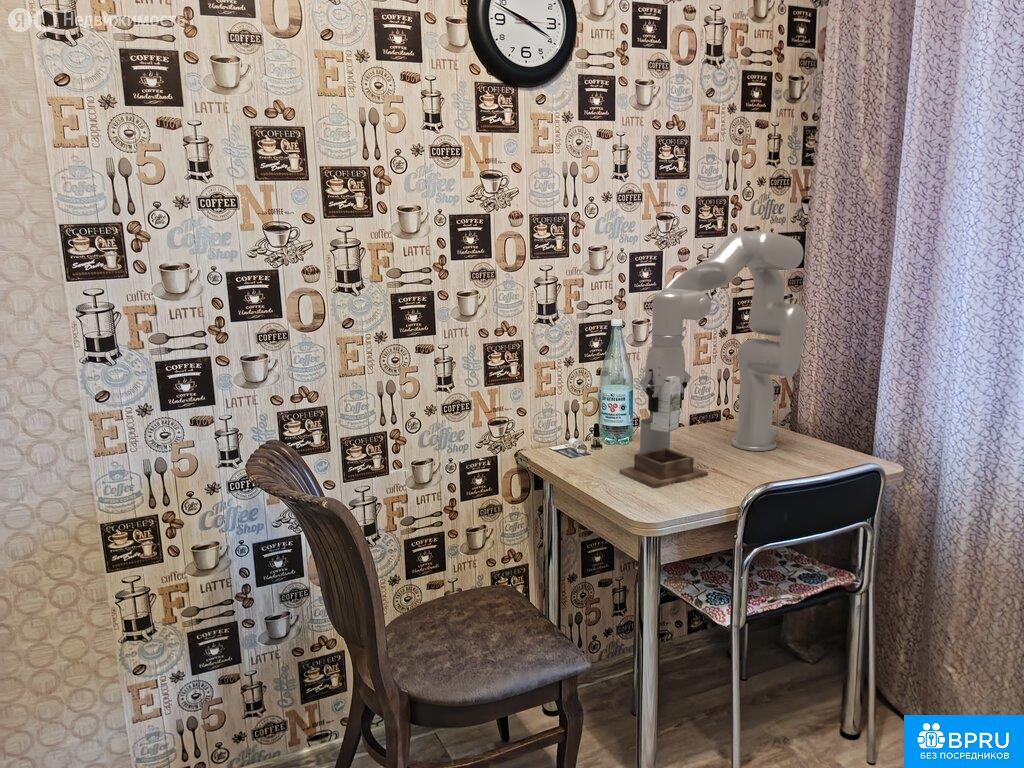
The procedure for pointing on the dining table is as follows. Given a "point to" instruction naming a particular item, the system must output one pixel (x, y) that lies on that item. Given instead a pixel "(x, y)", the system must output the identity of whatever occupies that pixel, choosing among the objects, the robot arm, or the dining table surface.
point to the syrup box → (667, 406)
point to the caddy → (662, 468)
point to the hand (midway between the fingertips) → (664, 409)
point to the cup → (652, 438)
